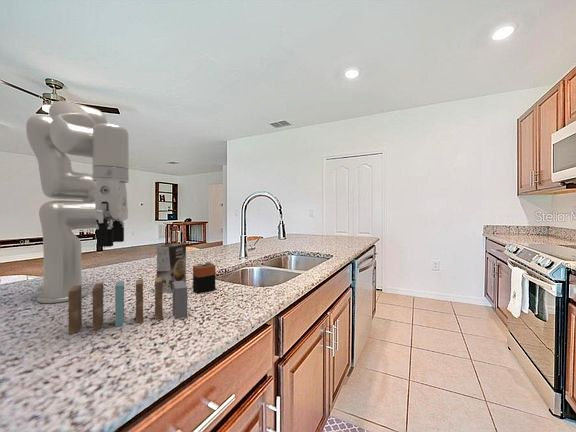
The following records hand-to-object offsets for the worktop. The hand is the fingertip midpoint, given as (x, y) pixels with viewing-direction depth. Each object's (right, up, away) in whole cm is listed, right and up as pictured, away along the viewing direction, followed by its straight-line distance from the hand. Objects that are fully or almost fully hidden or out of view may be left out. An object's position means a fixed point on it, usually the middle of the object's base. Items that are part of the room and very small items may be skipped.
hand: (111, 244), depth 68 cm
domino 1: (-6, -20, -3) cm, 21 cm away
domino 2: (-3, -20, -1) cm, 20 cm away
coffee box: (+2, -20, +32) cm, 37 cm away
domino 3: (+1, -20, +1) cm, 20 cm away
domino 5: (+9, -20, +5) cm, 23 cm away
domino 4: (+5, -20, +3) cm, 21 cm away
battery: (+14, -20, +29) cm, 38 cm away
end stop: (+14, -20, +8) cm, 26 cm away
